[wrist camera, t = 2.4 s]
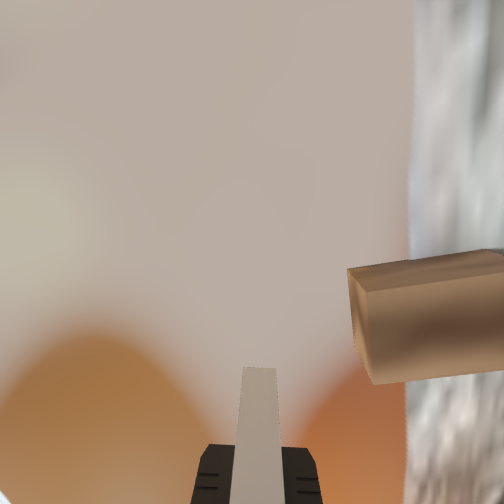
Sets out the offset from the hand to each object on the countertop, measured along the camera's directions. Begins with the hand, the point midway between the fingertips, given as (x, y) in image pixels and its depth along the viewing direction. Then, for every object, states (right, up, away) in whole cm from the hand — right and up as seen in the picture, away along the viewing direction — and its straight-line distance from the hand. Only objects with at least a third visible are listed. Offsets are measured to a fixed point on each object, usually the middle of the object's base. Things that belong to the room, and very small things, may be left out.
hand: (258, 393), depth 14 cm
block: (+13, +3, +9) cm, 16 cm away
